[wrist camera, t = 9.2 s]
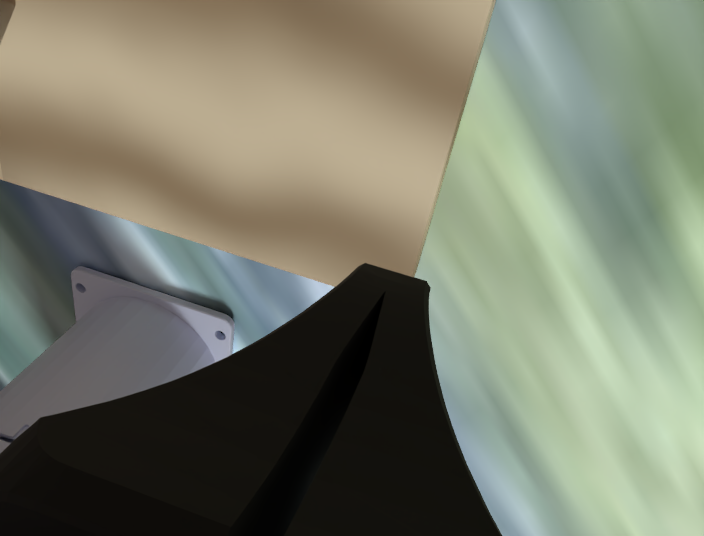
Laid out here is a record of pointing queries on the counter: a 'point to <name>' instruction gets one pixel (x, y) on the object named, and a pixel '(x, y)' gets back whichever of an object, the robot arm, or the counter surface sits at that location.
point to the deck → (244, 119)
